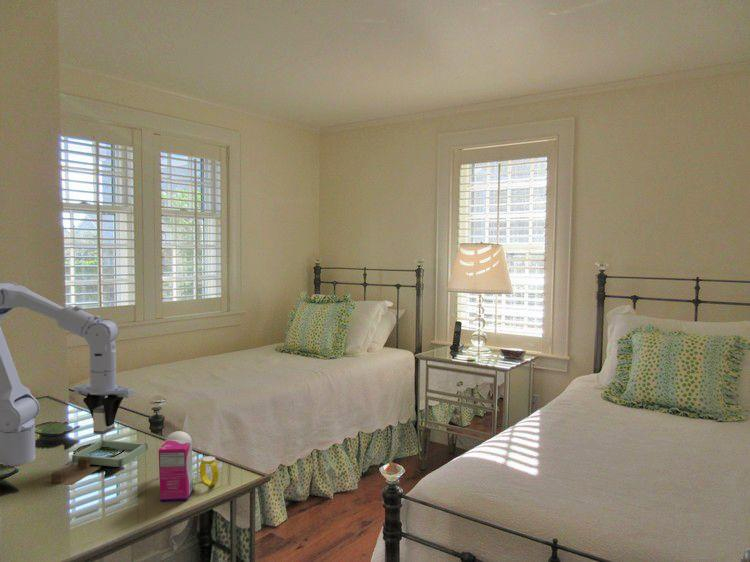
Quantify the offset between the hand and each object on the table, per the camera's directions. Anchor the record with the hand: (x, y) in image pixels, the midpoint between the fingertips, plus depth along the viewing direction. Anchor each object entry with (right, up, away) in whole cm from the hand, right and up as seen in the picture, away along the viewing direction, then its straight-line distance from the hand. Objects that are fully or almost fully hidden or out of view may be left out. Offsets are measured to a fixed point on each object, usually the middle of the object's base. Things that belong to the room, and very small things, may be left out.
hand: (104, 424), depth 137 cm
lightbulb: (+21, -11, -8) cm, 25 cm away
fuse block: (-3, -10, -8) cm, 13 cm away
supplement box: (+24, -11, -16) cm, 31 cm away
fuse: (0, -2, 0) cm, 2 cm away
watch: (+29, -11, -10) cm, 32 cm away
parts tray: (0, -9, +3) cm, 10 cm away
